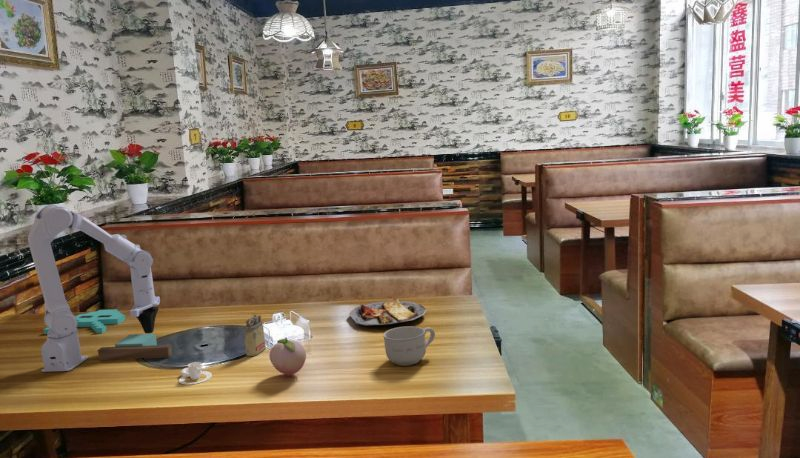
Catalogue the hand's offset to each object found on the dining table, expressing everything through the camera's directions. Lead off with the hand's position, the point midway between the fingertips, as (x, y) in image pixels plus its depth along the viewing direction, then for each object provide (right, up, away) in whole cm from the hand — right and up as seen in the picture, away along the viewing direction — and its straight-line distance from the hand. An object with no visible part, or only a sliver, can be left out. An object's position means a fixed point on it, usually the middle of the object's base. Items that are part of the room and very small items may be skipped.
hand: (149, 332), depth 178 cm
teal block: (0, -4, -7) cm, 9 cm away
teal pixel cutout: (-29, -1, +22) cm, 36 cm away
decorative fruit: (+49, -5, -31) cm, 58 cm away
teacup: (+79, -3, -26) cm, 83 cm away
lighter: (+35, -3, -14) cm, 38 cm away
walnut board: (+2, -5, -12) cm, 13 cm away
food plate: (+72, +3, +10) cm, 72 cm away
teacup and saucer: (+25, -6, -26) cm, 37 cm away
